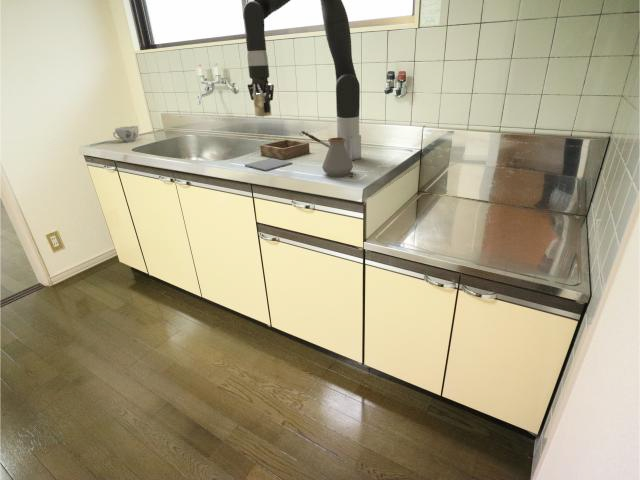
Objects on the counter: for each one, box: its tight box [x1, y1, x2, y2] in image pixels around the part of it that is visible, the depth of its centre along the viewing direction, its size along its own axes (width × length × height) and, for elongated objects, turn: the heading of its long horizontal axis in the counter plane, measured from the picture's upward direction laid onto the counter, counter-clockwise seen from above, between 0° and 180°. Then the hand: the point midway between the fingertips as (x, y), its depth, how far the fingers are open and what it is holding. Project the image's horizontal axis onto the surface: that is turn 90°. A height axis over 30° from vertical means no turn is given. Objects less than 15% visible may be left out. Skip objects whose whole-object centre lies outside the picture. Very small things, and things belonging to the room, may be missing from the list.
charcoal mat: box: [244, 157, 293, 172], centre depth 158 cm, size 14×14×1 cm
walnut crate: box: [259, 138, 310, 161], centre depth 175 cm, size 16×16×4 cm
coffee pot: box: [299, 130, 354, 178], centre depth 141 cm, size 21×12×15 cm, turn 59°
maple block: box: [253, 93, 272, 118], centre depth 148 cm, size 4×4×8 cm
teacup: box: [112, 125, 139, 143], centre depth 222 cm, size 15×12×8 cm
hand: (263, 111), depth 149 cm, fingers closed on maple block, 4 cm apart
